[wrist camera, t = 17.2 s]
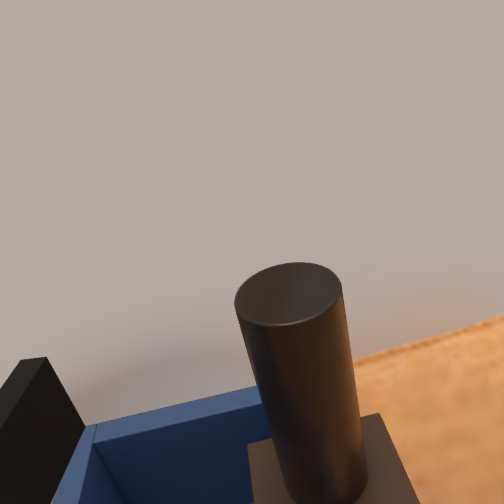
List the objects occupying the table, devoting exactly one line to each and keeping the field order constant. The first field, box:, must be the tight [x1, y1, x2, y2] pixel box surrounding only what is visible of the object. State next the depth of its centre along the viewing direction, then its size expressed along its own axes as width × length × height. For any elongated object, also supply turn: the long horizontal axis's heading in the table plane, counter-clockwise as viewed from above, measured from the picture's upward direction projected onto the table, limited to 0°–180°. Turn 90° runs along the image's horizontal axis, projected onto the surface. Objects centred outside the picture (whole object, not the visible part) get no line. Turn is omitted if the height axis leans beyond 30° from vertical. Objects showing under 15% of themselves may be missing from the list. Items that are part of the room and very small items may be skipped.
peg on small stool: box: [234, 262, 420, 504], centre depth 16 cm, size 5×4×14 cm
